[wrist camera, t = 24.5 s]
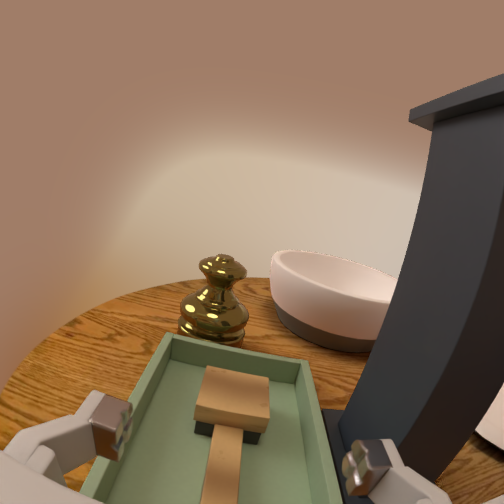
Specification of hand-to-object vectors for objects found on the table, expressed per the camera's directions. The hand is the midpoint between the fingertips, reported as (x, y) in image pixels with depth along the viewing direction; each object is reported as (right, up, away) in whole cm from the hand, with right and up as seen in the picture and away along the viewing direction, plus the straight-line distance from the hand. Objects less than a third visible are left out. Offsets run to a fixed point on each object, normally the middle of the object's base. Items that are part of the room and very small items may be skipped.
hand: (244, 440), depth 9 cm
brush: (-2, -7, +7) cm, 10 cm away
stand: (+10, -10, +9) cm, 17 cm away
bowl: (+12, -5, +36) cm, 39 cm away
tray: (-2, -8, +9) cm, 12 cm away
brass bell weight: (-5, -4, +24) cm, 25 cm away
